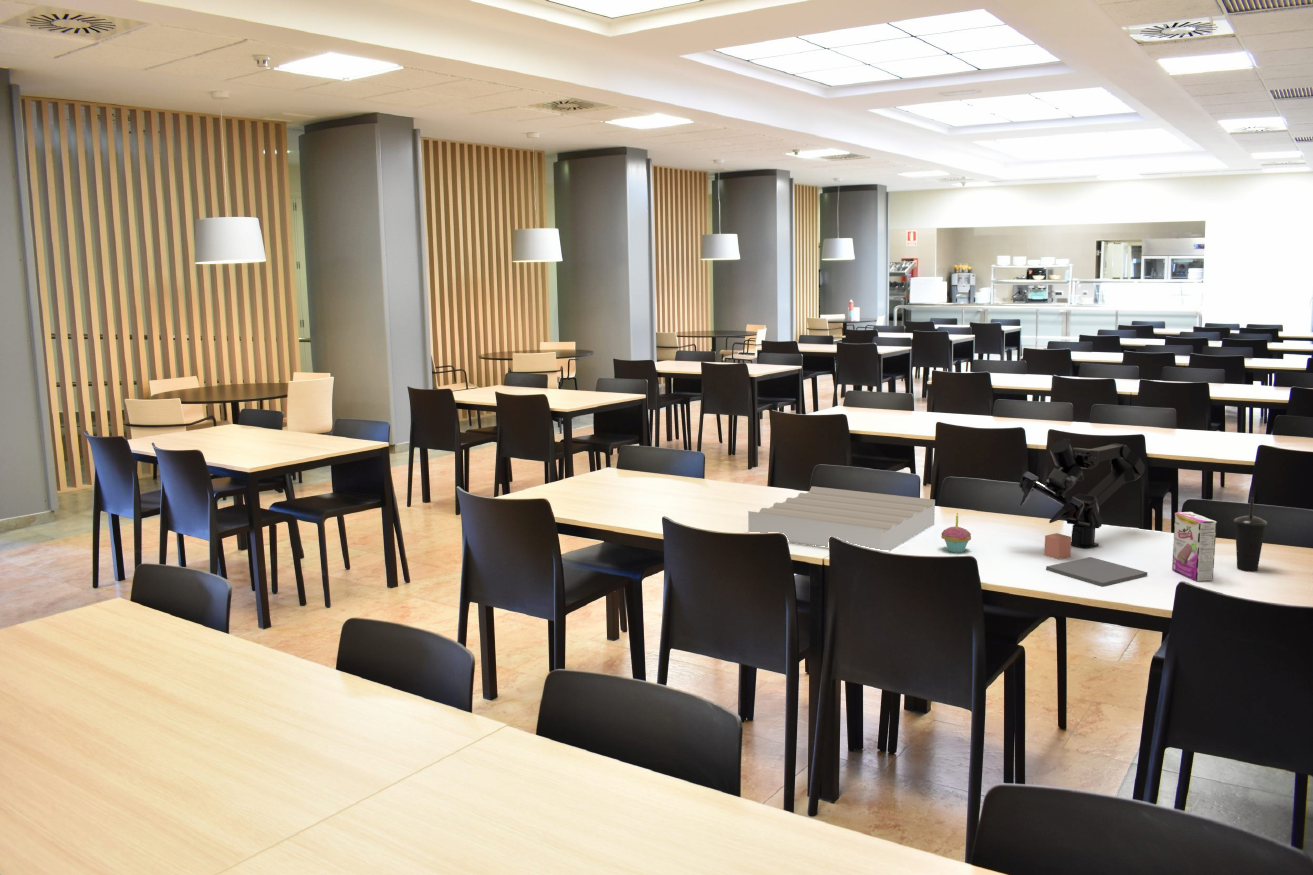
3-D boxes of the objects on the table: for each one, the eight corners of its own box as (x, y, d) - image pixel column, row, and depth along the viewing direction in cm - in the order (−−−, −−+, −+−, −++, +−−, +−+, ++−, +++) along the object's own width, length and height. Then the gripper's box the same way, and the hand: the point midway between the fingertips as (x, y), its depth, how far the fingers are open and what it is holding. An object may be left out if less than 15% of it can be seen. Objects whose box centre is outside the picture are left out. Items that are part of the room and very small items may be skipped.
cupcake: (972, 554, 287) (973, 514, 285) (942, 553, 289) (943, 514, 287) (968, 547, 296) (970, 508, 294) (939, 546, 297) (940, 507, 295)
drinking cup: (1224, 565, 271) (1229, 495, 268) (1250, 564, 271) (1255, 494, 268) (1243, 573, 263) (1248, 501, 260) (1270, 572, 264) (1275, 500, 261)
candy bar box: (1170, 570, 268) (1173, 512, 265) (1187, 569, 268) (1191, 511, 266) (1195, 582, 257) (1199, 521, 254) (1214, 581, 257) (1218, 520, 255)
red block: (1056, 552, 287) (1057, 533, 286) (1070, 556, 283) (1071, 536, 282) (1044, 555, 285) (1045, 535, 284) (1058, 559, 281) (1059, 539, 280)
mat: (1090, 560, 279) (1090, 556, 279) (1147, 575, 263) (1147, 572, 263) (1046, 569, 271) (1046, 566, 270) (1102, 586, 255) (1102, 582, 255)
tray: (811, 510, 350) (811, 486, 348) (934, 526, 324) (934, 499, 323) (748, 538, 314) (748, 511, 312) (881, 558, 288) (881, 528, 286)
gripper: (1040, 446, 284) (1010, 480, 279) (1100, 479, 275) (1070, 515, 269) (1033, 469, 293) (1004, 502, 287) (1092, 501, 283) (1063, 536, 278)
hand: (1035, 513), depth 280 cm, fingers open, 9 cm apart
